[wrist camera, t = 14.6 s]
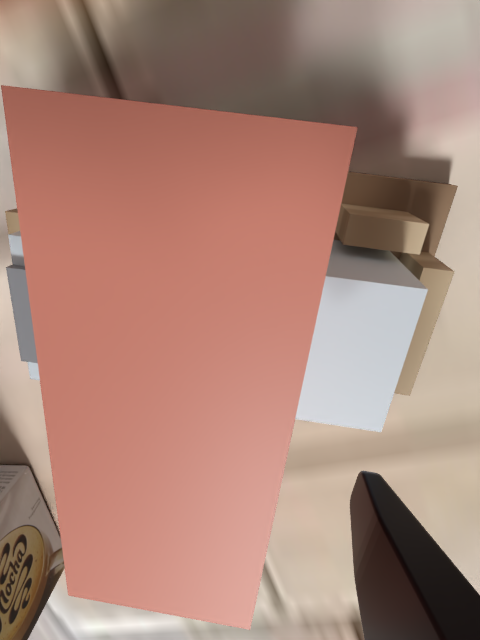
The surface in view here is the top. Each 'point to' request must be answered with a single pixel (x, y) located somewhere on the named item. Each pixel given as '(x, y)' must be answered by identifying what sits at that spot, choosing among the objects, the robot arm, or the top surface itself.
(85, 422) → the salmon pink slab
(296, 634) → the top surface
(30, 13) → the top surface
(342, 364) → the pale blue slab
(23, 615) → the coffee box
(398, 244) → the jig
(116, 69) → the top surface
